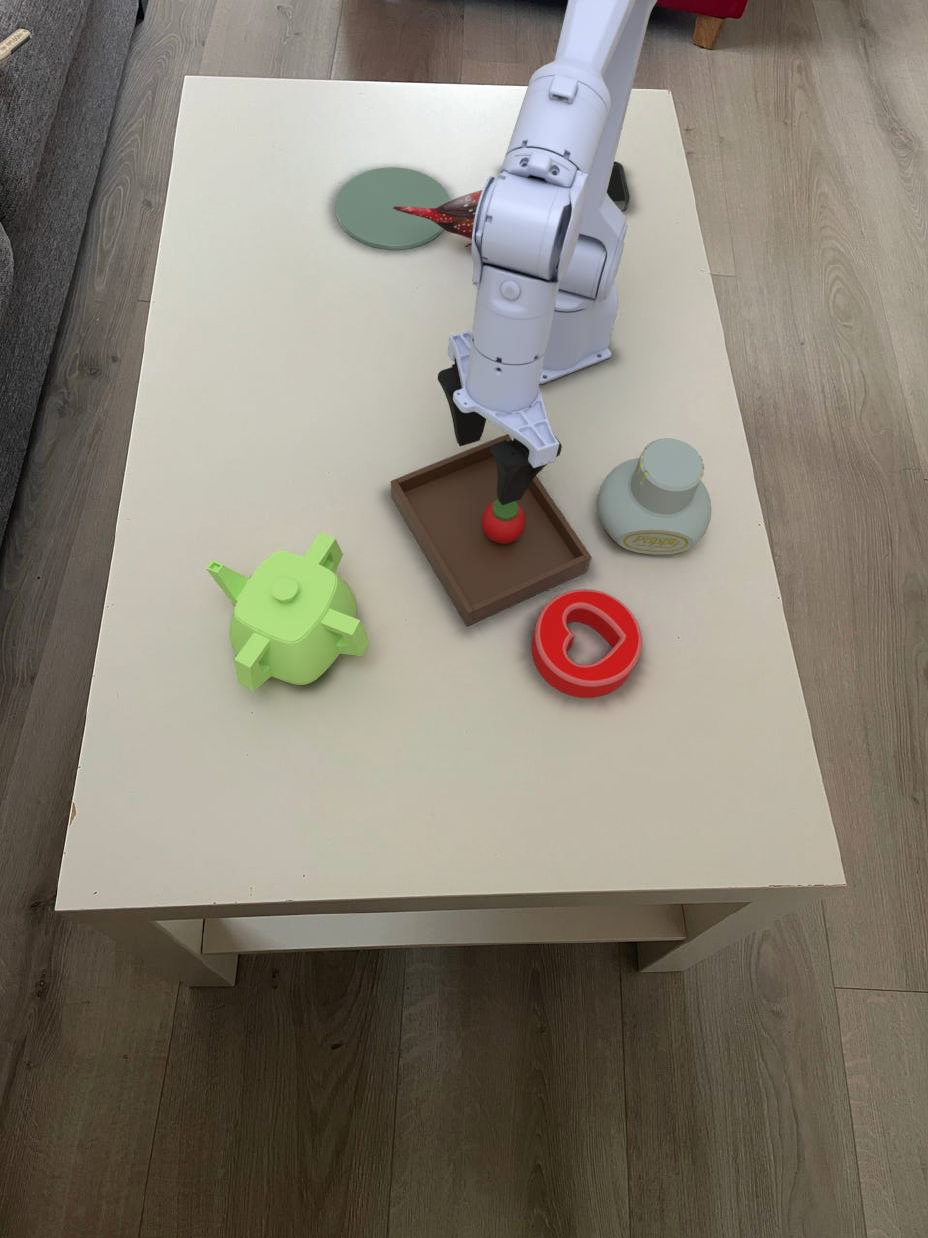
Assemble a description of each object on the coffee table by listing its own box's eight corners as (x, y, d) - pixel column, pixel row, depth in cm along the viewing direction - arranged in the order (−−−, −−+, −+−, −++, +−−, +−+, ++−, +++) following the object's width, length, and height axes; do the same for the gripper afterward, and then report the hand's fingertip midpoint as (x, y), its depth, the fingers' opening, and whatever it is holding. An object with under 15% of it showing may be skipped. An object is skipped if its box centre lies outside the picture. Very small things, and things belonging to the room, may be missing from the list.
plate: (419, 159, 109) (419, 154, 108) (471, 228, 103) (471, 224, 103) (317, 190, 105) (317, 185, 105) (365, 263, 100) (365, 259, 99)
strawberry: (509, 509, 85) (514, 482, 80) (530, 541, 83) (536, 515, 79) (472, 525, 84) (475, 498, 79) (493, 558, 82) (496, 533, 78)
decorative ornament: (652, 678, 78) (661, 664, 75) (556, 711, 76) (561, 699, 73) (608, 590, 82) (614, 574, 79) (515, 620, 80) (519, 605, 77)
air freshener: (698, 492, 87) (729, 430, 78) (703, 562, 84) (736, 505, 75) (592, 484, 87) (611, 421, 78) (592, 554, 84) (612, 495, 75)
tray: (505, 450, 89) (508, 433, 86) (586, 571, 83) (591, 557, 80) (391, 497, 86) (390, 480, 83) (466, 626, 79) (468, 613, 77)
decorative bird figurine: (543, 252, 102) (555, 176, 93) (395, 261, 100) (392, 185, 91) (539, 235, 103) (550, 158, 94) (393, 244, 101) (390, 167, 92)
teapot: (343, 568, 82) (333, 511, 73) (379, 673, 77) (373, 625, 68) (221, 603, 80) (196, 549, 71) (251, 713, 75) (228, 669, 66)
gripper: (418, 296, 66) (411, 428, 77) (511, 416, 59) (488, 541, 70) (497, 277, 68) (479, 408, 80) (595, 390, 62) (560, 516, 73)
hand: (488, 469), depth 75 cm, fingers open, 7 cm apart
